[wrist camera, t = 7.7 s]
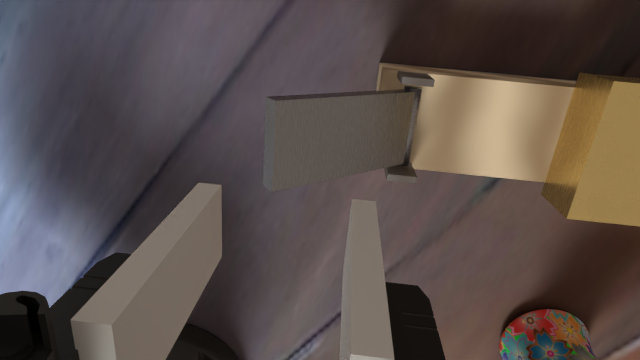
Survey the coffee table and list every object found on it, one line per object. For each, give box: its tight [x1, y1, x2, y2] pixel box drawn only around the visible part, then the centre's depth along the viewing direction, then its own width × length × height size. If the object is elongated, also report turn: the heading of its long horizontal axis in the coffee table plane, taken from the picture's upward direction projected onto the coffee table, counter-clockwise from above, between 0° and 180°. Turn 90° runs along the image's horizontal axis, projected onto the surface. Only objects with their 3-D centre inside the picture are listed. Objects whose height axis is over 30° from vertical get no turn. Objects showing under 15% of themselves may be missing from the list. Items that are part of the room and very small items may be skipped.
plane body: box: [376, 62, 576, 183], centre depth 30 cm, size 24×7×8 cm, turn 85°
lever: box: [263, 86, 423, 192], centre depth 25 cm, size 1×5×12 cm
